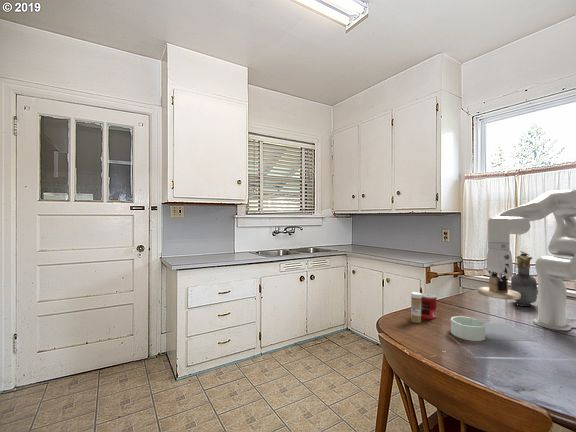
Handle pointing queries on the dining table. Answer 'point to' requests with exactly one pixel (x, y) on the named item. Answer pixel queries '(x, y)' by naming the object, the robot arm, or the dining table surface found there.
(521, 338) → the mat
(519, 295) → the lid
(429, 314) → the canned food
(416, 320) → the sprinkles bottle
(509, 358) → the dining table surface
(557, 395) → the dining table surface
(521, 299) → the grey vase
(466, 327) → the bowl
